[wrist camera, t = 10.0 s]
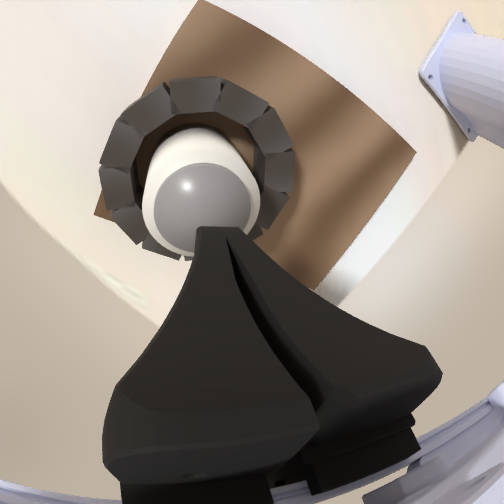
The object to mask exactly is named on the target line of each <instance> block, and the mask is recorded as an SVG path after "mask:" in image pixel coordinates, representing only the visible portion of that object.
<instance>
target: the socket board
mask: <svg viewBox="0 0 504 504" xmlns="http://www.w3.org/2000/svg"><path fill="white" fill-rule="evenodd" d="M188 123H203V124H207V125H211V126H213V127H215V128H217V129H219V130H220V131H222V132H223V133H224V134H225V135H226V136H227V137H228V138H229V140H230V141H231V143H232V144H233V146H234V147H235V149H236V150H237V152H238V153H239V155H240V156H241V158H242V159H243V161H244V163H245V164H246V166H247V167H248V169H249V170H250V172H251V173H252V175H253V177H254V178H255V180H256V183H257V185H258V188H259V193H260V209H259V213H258V217H257V219H256V221H255V224H254V225H253V227H252V229H251V230H250V232H249V233H248V234H247V236H248V237H249V238H250V239H251V240H252V241H253V242H254V243H256V244H257V245H258V246H259V247H260V248H261V249H262V250H263V251H264V252H265V253H266V254H267V255H268V256H269V257H270V258H271V259H273V260H274V261H275V262H276V263H277V264H278V265H279V266H280V267H282V268H283V269H284V270H285V271H286V272H288V273H289V274H290V275H291V276H293V277H294V278H295V279H296V280H298V281H299V282H300V283H302V284H303V285H304V286H306V287H308V288H311V289H315V288H316V287H317V286H318V284H319V283H320V282H321V281H322V280H323V278H324V277H325V276H326V275H327V273H328V272H329V271H330V270H331V268H332V267H333V266H334V265H335V263H336V262H337V261H338V260H339V258H340V257H341V256H342V255H343V253H344V252H345V251H346V249H347V248H348V247H349V246H350V244H351V243H352V242H353V240H354V239H355V238H356V236H357V235H358V234H359V232H360V231H361V230H362V229H363V227H364V226H365V225H366V223H367V222H368V221H369V219H370V218H371V216H372V215H373V214H374V212H375V211H376V210H377V208H378V207H379V206H380V204H381V203H382V201H383V200H384V199H385V197H386V196H387V195H388V193H389V192H390V190H391V189H392V188H393V186H394V185H395V183H396V182H397V180H398V179H399V178H400V176H401V175H402V173H403V172H404V170H405V169H406V167H407V166H408V164H409V163H410V162H411V160H412V159H413V157H414V156H415V154H416V153H417V152H416V151H415V150H414V149H413V148H412V147H411V146H410V145H409V144H408V143H407V142H406V141H405V140H404V139H403V138H402V137H401V136H400V135H399V134H398V133H397V132H396V131H395V130H394V129H393V128H392V127H391V126H389V125H388V124H387V123H386V122H385V121H384V120H383V119H382V118H381V117H380V116H379V115H377V114H376V113H375V112H374V111H373V110H372V109H371V108H369V107H368V106H367V105H366V104H365V103H364V102H362V101H361V100H360V99H359V98H358V97H356V96H355V95H354V94H353V93H352V92H350V91H349V90H348V89H347V88H345V87H344V86H343V85H341V84H340V83H339V82H338V81H336V80H335V79H334V78H332V77H331V76H330V75H328V74H327V73H326V72H324V71H323V70H322V69H320V68H319V67H318V66H316V65H315V64H313V63H312V62H310V61H309V60H308V59H306V58H305V57H303V56H302V55H300V54H299V53H297V52H296V51H294V50H293V49H291V48H290V47H288V46H287V45H285V44H283V43H282V42H280V41H279V40H277V39H275V38H274V37H272V36H271V35H269V34H267V33H266V32H264V31H262V30H260V29H259V28H257V27H255V26H253V25H252V24H250V23H248V22H246V21H244V20H243V19H241V18H239V17H237V16H235V15H233V14H231V13H229V12H227V11H225V10H223V9H221V8H219V7H217V6H215V5H213V4H211V3H209V2H207V1H205V0H198V1H197V3H196V4H195V6H194V7H193V9H192V10H191V12H190V13H189V15H188V16H187V18H186V19H185V21H184V22H183V24H182V25H181V27H180V28H179V30H178V32H177V33H176V35H175V36H174V38H173V40H172V41H171V43H170V45H169V46H168V48H167V50H166V51H165V53H164V55H163V57H162V58H161V60H160V62H159V64H158V65H157V67H156V69H155V71H154V73H153V75H152V77H151V78H150V80H149V82H148V84H147V86H146V88H145V90H144V92H143V94H142V96H141V98H139V99H138V100H136V101H135V102H134V103H132V104H131V105H130V106H128V107H127V108H126V110H125V111H124V112H123V113H122V114H121V116H120V117H119V118H118V119H117V120H116V122H115V124H114V127H113V129H112V131H111V134H110V136H109V139H108V141H107V144H106V146H105V149H104V151H103V154H102V157H101V159H100V162H99V163H100V164H102V165H101V167H100V168H99V176H100V181H101V186H102V191H101V194H100V197H99V200H98V203H97V206H96V209H95V212H94V215H96V216H98V217H101V218H104V219H107V220H110V221H113V222H115V223H116V224H117V225H118V226H119V227H120V228H121V229H122V230H123V231H124V232H125V233H126V234H127V235H128V236H129V237H130V239H131V240H132V241H133V242H134V243H135V244H136V245H137V244H139V243H140V242H142V241H143V243H142V248H143V249H146V250H149V251H152V252H155V253H158V254H161V255H164V256H167V257H170V258H173V259H176V260H179V259H180V257H181V254H178V253H175V252H172V251H170V250H168V249H167V248H165V247H163V246H162V245H161V244H160V243H158V242H157V241H156V240H155V239H154V238H153V236H152V235H151V233H150V232H149V230H148V228H147V227H146V224H145V221H144V218H143V213H142V202H143V195H144V190H145V184H146V179H147V175H148V170H149V165H150V161H151V156H152V153H153V150H154V148H155V146H156V144H157V143H158V141H159V140H160V139H161V138H162V137H163V136H164V135H165V134H166V133H167V132H169V131H170V130H172V129H173V128H175V127H178V126H180V125H183V124H188ZM184 257H185V261H189V260H193V257H192V256H185V255H184Z"/></svg>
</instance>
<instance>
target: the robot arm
mask: <svg viewBox="0 0 504 504" xmlns="http://www.w3.org/2000/svg"><path fill="white" fill-rule="evenodd" d="M462 21H463V22H462ZM419 73H420V76H421V78H422V79H423V80H424V81H425V82H426V83H427V85H428V86H429V87H430V88H431V89H432V91H433V92H434V93H435V94H436V96H437V97H438V98H439V99H440V101H441V102H442V103H443V105H444V106H445V107H446V109H447V110H448V111H449V113H450V114H451V115H452V117H453V118H454V119H455V121H456V122H457V124H458V125H459V127H460V128H461V129H462V131H463V132H464V134H465V135H466V137H467V138H468V140H469V141H472V142H473V141H474V140H475V139H476V137H477V136H478V135H479V136H481V137H483V138H485V139H487V140H489V141H491V142H493V143H495V144H496V145H498V146H500V147H502V148H504V39H500V38H495V37H490V36H485V35H479V34H476V32H475V31H474V29H473V28H472V26H471V25H470V23H469V22H468V20H467V19H466V17H465V16H464V15H463V13H462V12H460V11H455V12H454V14H453V16H452V18H451V19H450V21H449V23H448V24H447V26H446V28H445V29H444V31H443V33H442V34H441V36H440V37H439V39H438V41H437V42H436V44H435V46H434V47H433V49H432V50H431V52H430V54H429V55H428V57H427V58H426V60H425V62H424V63H423V65H422V66H421V68H420V71H419ZM428 76H430V78H429V79H428ZM442 374H443V373H442V371H441V370H440V368H439V366H438V365H437V363H436V362H435V360H434V358H433V357H432V355H431V354H430V352H429V351H428V349H427V348H426V347H425V346H423V345H420V344H418V343H415V342H412V341H409V340H406V339H404V338H401V337H398V336H395V335H393V334H390V333H388V332H386V331H383V330H381V329H379V328H377V327H374V326H372V325H369V324H368V323H365V322H364V321H362V320H360V319H358V318H356V317H353V316H352V315H350V314H348V313H347V312H345V311H343V310H341V309H339V308H338V307H336V306H334V305H333V304H331V303H329V302H328V301H326V300H325V299H323V298H322V297H320V296H319V295H317V294H316V293H314V292H313V291H311V290H310V289H308V288H307V287H306V286H304V285H303V284H302V283H300V282H299V281H298V280H296V279H295V278H294V277H293V276H291V275H290V274H289V273H288V272H286V271H285V270H284V269H283V268H282V267H280V266H279V265H278V264H277V263H276V262H275V261H274V260H273V259H271V258H270V257H269V256H268V255H267V254H266V253H265V252H264V251H263V250H262V249H261V248H260V247H259V246H258V245H257V244H256V243H254V242H253V241H252V240H251V239H250V238H249V237H248V236H247V235H246V234H245V233H244V232H243V231H242V230H241V229H240V228H239V227H218V226H200V227H198V228H197V229H196V238H195V250H194V257H193V261H192V264H191V267H190V269H189V272H188V275H187V277H186V280H185V282H184V285H183V287H182V289H181V291H180V293H179V295H178V297H177V299H176V301H175V303H174V305H173V307H172V309H171V310H170V312H169V314H168V316H167V317H166V319H165V321H164V322H163V324H162V326H161V327H160V329H159V330H158V332H157V333H156V335H155V336H154V338H153V339H152V340H151V342H150V343H149V344H148V346H147V347H146V349H145V350H144V352H143V353H142V354H141V356H140V357H139V358H138V360H137V361H136V362H135V363H134V364H133V365H132V367H131V368H130V369H129V370H128V371H127V372H126V374H125V375H124V376H123V377H122V378H121V380H120V381H119V382H118V383H117V384H116V386H115V389H114V391H113V394H112V397H111V400H110V403H109V406H108V409H107V413H106V417H105V421H104V427H103V434H102V452H103V463H104V466H105V467H106V468H107V469H108V470H109V472H110V473H111V474H112V475H114V476H115V477H116V478H117V479H118V480H119V481H120V488H121V498H122V500H109V499H98V498H88V497H79V496H73V495H67V494H61V493H55V492H50V491H45V490H40V489H35V488H31V487H27V486H23V485H19V484H15V483H12V482H8V481H5V480H2V479H0V504H314V503H318V502H321V501H324V500H327V499H330V498H333V497H336V496H338V495H342V494H344V493H347V492H350V491H352V490H355V489H357V488H360V487H362V486H365V485H367V484H370V483H372V482H374V481H377V480H379V479H381V478H383V477H386V476H388V475H390V474H392V473H394V472H396V471H398V470H400V469H402V468H404V467H406V466H408V465H409V466H408V469H407V473H406V474H405V475H403V476H401V477H399V478H397V479H395V480H394V481H392V482H390V483H388V484H386V485H384V486H382V487H380V488H378V489H376V490H374V491H371V492H369V493H367V494H365V495H363V497H362V499H363V502H364V504H504V381H503V382H501V383H500V384H499V385H498V386H497V387H496V388H495V389H494V390H492V392H490V394H488V396H487V397H486V398H485V399H483V400H481V401H480V402H479V403H477V404H475V405H474V406H472V407H471V408H469V409H468V410H466V411H464V412H463V413H461V414H460V415H458V416H456V417H455V418H453V419H451V420H449V421H448V422H446V423H444V424H442V425H441V426H439V427H437V428H435V429H433V430H432V431H430V432H428V433H426V434H424V435H422V436H420V437H418V438H416V437H415V435H414V433H413V432H412V430H411V427H412V426H414V425H415V419H414V417H413V416H412V414H411V412H412V411H414V410H415V409H416V408H417V407H418V406H419V405H420V404H421V403H422V402H423V401H424V400H425V399H426V398H427V397H428V396H429V395H430V394H431V393H432V392H433V391H434V390H435V389H436V388H437V386H438V385H439V383H440V382H441V378H442Z"/></svg>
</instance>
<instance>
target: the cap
mask: <svg viewBox="0 0 504 504" xmlns="http://www.w3.org/2000/svg"><path fill="white" fill-rule="evenodd" d="M259 209H260V193H259V188H258V185H257V183H256V180H255V178H254V177H253V175H252V173H251V172H250V170H249V169H248V167H247V166H246V164H245V163H244V161H243V159H242V158H241V156H240V155H239V153H238V152H237V150H236V149H235V147H234V146H233V144H232V143H231V141H230V140H229V138H228V137H227V136H226V135H225V134H224V133H223V132H222V131H220V130H219V129H217V128H215V127H213V126H211V125H207V124H203V123H188V124H183V125H180V126H178V127H175V128H173V129H172V130H170V131H169V132H167V133H166V134H165V135H164V136H163V137H162V138H161V139H160V140H159V141H158V143H157V144H156V146H155V148H154V150H153V153H152V156H151V161H150V165H149V170H148V175H147V179H146V184H145V190H144V195H143V202H142V213H143V218H144V221H145V224H146V227H147V228H148V230H149V232H150V233H151V235H152V236H153V238H154V239H155V240H156V241H157V242H158V243H160V244H161V245H162V246H163V247H165V248H167V249H168V250H170V251H172V252H175V253H178V254H181V255H185V256H192V257H194V250H195V238H196V229H197V228H198V227H200V226H218V227H239V228H240V229H241V230H242V231H243V232H244V233H245V234H246V235H247V234H248V233H249V232H250V230H251V229H252V227H253V225H254V224H255V221H256V219H257V217H258V213H259Z"/></svg>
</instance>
